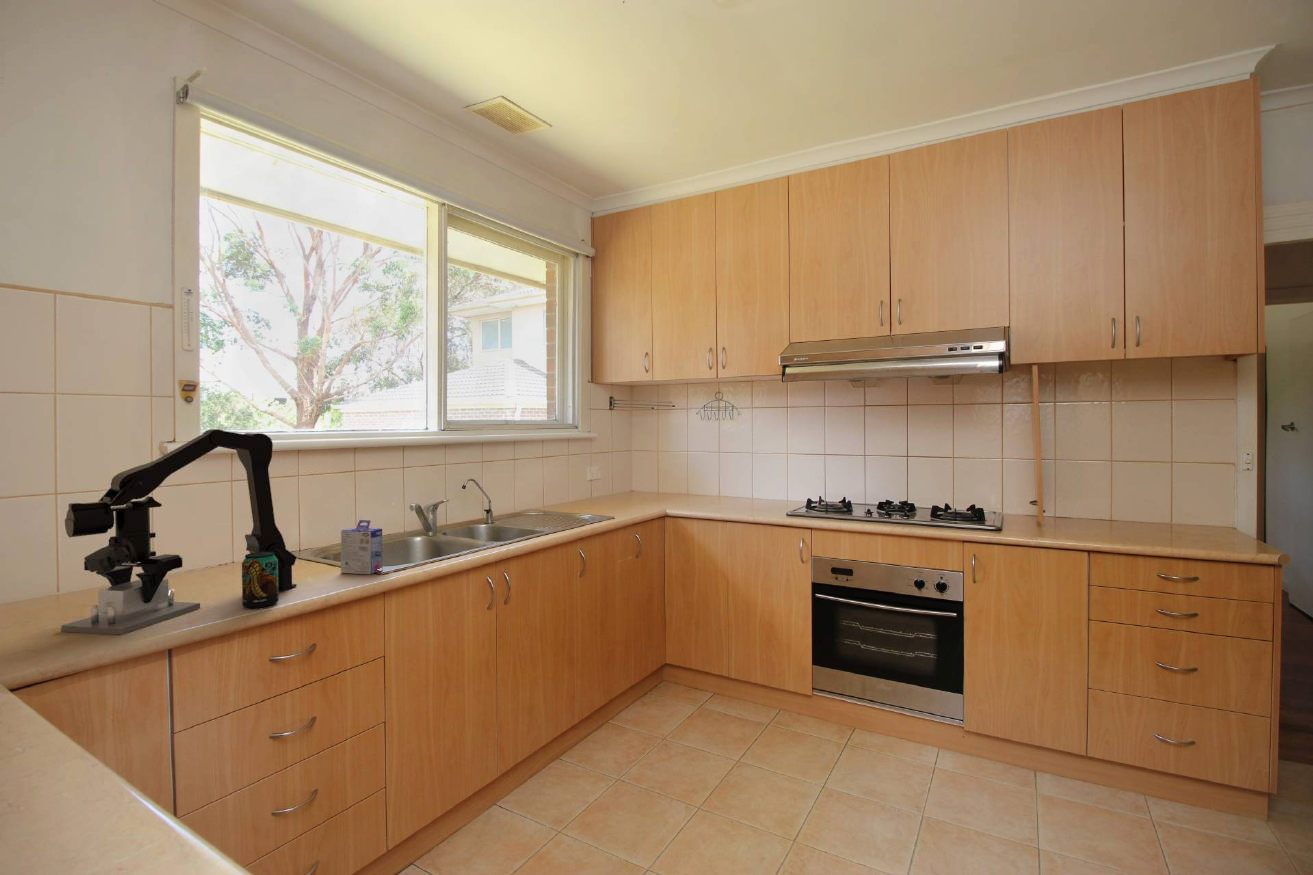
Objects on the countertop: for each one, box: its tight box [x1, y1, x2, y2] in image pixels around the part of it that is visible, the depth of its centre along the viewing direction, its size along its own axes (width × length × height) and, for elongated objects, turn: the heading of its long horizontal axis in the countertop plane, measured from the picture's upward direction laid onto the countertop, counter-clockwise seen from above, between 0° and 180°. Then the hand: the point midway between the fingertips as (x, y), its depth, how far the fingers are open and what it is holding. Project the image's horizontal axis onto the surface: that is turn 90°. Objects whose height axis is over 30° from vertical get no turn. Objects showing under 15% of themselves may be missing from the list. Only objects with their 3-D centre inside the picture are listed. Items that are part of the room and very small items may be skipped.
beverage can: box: [241, 552, 280, 610], centre depth 143 cm, size 7×7×12 cm
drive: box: [97, 578, 169, 615], centre depth 133 cm, size 6×10×5 cm, turn 171°
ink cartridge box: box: [340, 519, 383, 575], centre depth 175 cm, size 10×6×14 cm, turn 78°
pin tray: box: [60, 588, 201, 635], centre depth 133 cm, size 14×18×5 cm
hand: (135, 602), depth 133 cm, fingers closed on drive, 6 cm apart
